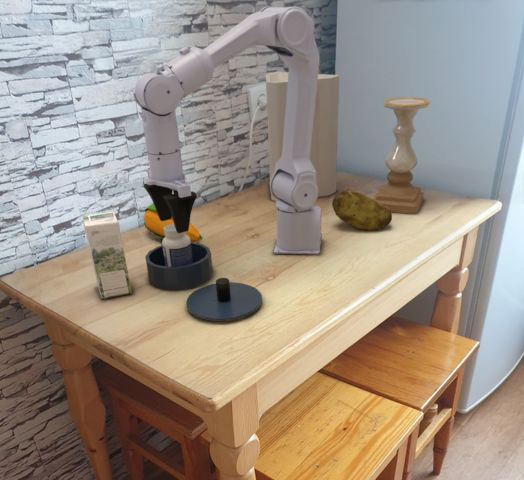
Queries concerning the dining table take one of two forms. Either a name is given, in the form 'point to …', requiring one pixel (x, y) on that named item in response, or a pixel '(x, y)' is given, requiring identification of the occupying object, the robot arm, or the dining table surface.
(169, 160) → the robot arm
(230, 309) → the lid
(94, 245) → the syrup box
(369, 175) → the dining table surface
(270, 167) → the paper bag
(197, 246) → the pot
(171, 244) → the pill bottle
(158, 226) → the corn
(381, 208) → the potato
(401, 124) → the candle holder
